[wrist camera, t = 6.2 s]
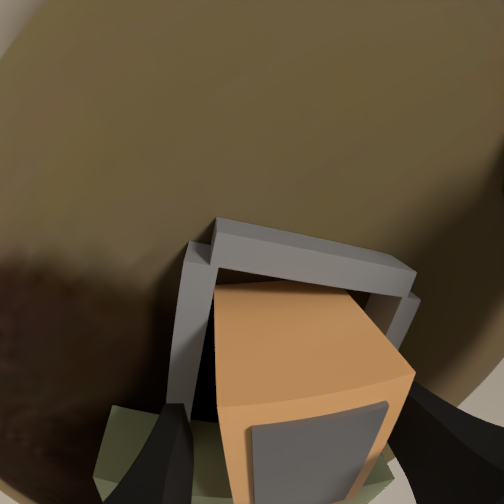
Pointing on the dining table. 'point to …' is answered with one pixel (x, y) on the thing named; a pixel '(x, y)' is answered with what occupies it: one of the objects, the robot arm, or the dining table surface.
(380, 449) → the orange box grey panel
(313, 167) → the dining table surface
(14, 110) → the dining table surface
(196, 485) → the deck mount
